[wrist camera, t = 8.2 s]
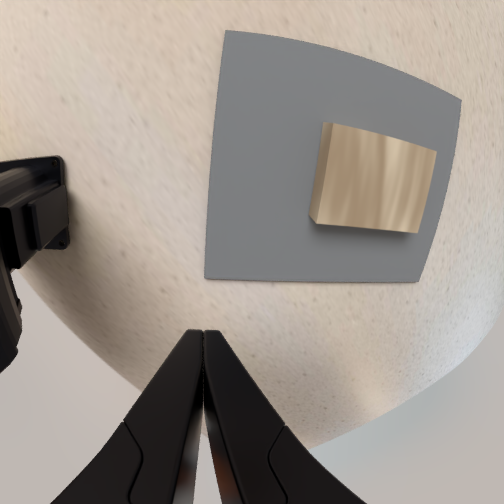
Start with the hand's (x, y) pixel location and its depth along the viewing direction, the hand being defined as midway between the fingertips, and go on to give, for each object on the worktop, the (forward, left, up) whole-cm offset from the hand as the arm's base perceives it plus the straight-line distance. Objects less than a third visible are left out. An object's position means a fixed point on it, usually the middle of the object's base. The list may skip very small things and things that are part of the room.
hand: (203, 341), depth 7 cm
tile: (+6, +3, -11) cm, 13 cm away
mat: (+9, +3, -12) cm, 15 cm away
